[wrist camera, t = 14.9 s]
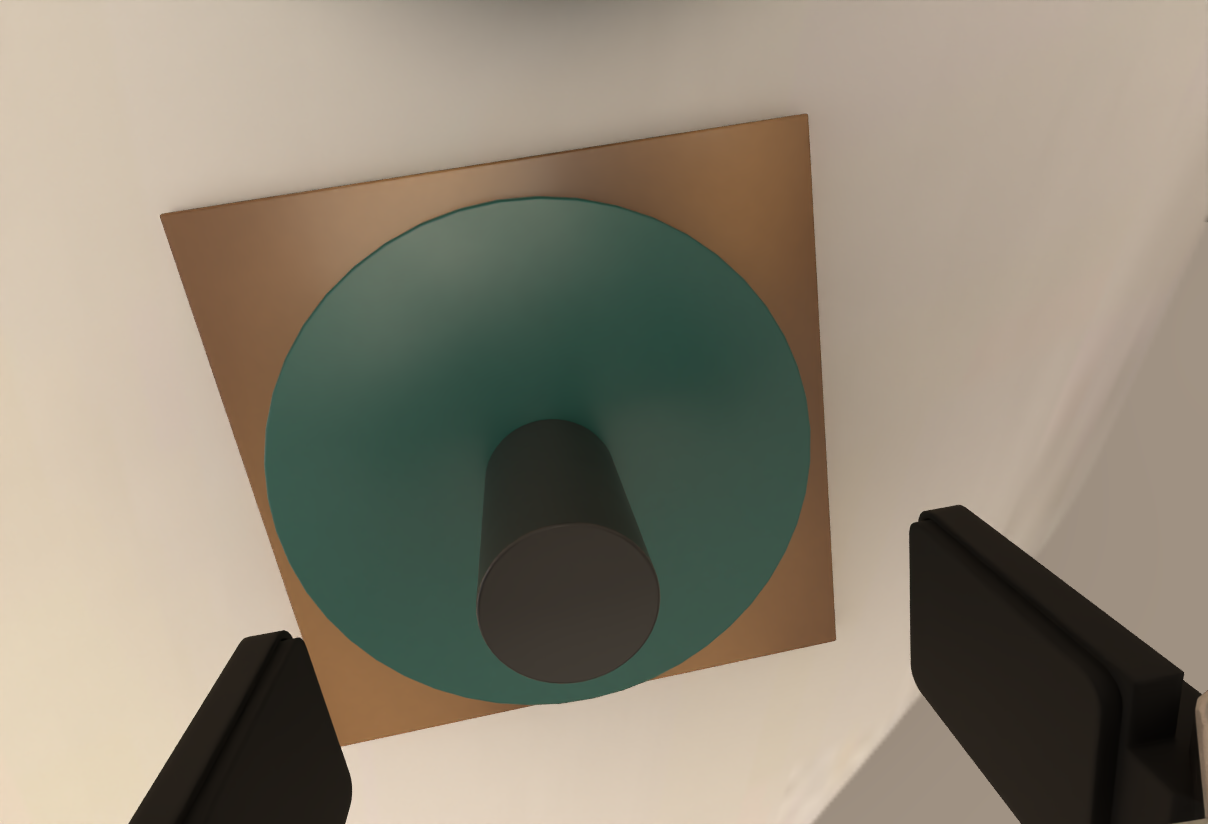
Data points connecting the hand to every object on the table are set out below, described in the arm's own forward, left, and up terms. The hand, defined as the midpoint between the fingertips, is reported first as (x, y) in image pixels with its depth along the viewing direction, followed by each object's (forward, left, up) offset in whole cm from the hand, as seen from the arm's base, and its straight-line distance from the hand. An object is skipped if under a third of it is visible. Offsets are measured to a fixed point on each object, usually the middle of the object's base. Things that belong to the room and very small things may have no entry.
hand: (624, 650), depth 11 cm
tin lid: (+1, 0, -8) cm, 8 cm away
